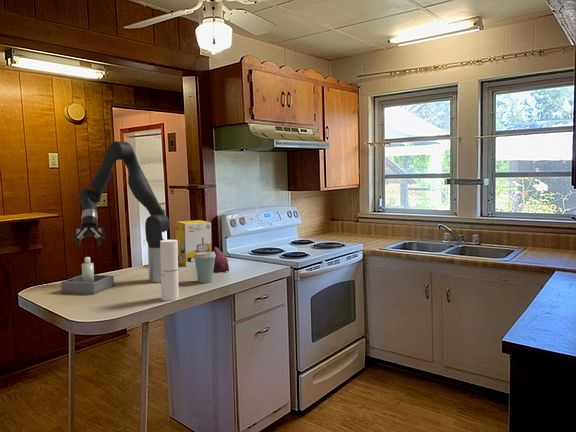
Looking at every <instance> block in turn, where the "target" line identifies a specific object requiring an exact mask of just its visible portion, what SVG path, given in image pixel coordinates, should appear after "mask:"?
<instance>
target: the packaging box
mask: <svg viewBox="0 0 576 432" xmlns="http://www.w3.org/2000/svg"><path fill="white" fill-rule="evenodd" d="M174 223H175V240H177V241H178V265H181V266H184V267H186V268H187V267H194V266H195V267H196V264H195V257H194V255H195V254H196V253H200V252H213V251H212V250H213V249H212V221H205V220H199V219H198V220H197V219H195V220H182V221H181V220H179V221H175V222H174Z"/></svg>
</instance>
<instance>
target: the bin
mask: <svg viewBox="0 0 576 432" xmlns="http://www.w3.org/2000/svg"><path fill="white" fill-rule="evenodd" d="M60 283H61V285H60V286H61V294H75V295H76V294H78V295H79V294H80V295H96V294H99V293H101V292H103V291H105V290H108V289H110V288H112V287H114V286H115V278H114V275H109V274H107V275H106V274H94V282H93V283H88V282H82V274H80V275H77V276H75V277H72V278H69V279H66V280H64V281H61V282H60Z"/></svg>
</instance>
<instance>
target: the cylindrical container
mask: <svg viewBox="0 0 576 432" xmlns="http://www.w3.org/2000/svg"><path fill="white" fill-rule="evenodd" d="M160 255H161V282H160V284H161V285H160V286H161V287H160V288H161V289H160V290H161V301H167V302H169V301H176V300H178V299H179V297H180V296H179V294H180V293H179V292H180V291H179V263H178V241H177V240H176V239H164V240H162V241H160Z"/></svg>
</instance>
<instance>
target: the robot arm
mask: <svg viewBox="0 0 576 432" xmlns="http://www.w3.org/2000/svg"><path fill="white" fill-rule="evenodd" d="M117 161H123V163H124V166H125V167H126V170H127V172H128V173H127V174H128V175H127V176H128V177H127V184H128V188H129V189H130V191H131V193H132V195H133V197H134V198H135V200H137V201H138V202H139V203H140V204H141V205H142V206H143V207H144V208H145V209H146V210H147V211H148V213H149V216H148V217H147V218H146V219H145V222H144V224H145V227H144V229H145V240H146V243H147V256H148V257H147V259H148V260H147V261H148V263H147V265H148V281H149V282H150V283H161V255H160V241H162V240H165V239H164V238H163V233H165V232H167V231H168V230H169V229H170V226H171V223H170V219H169V217H168V216H167V214H166V213H165V211H164V210H163V207H161V205H160V203H159V201H158V199H157V197H156V195H155V193H154V191H153V190H152V187H151V186H150V183H149V181H148V179H147V177H146V176H145V173H144V172H143V170H142V168H141V165H140V163H139V161H138V157H137V155H136V152H135V150H134V148H133V146H132V144H131V143H129V142H127V141H118V140H117V141H112V142H111V143H110V144H109V145H108V148H107V149H106V151H105V154H104V157H103V159H102V162H101V163H100V166H99V168H98V170H97V172H96V173H95V175H93V178H92V179H91V181H90V188H88V187H83V188H81V189H80V191H79V193H78V197H79V202H80V205H81V206H82V207H81V209H82V212H81V213H82V214H81V219H80V220H81V223H80V228H77V227H74V228H73V232H72V239H73V241H76V246H77V247H79V248H80V247H81V240H82V239H84V238H85V237H86V238H88V237H89V238H92V237H94V238H95V239H96V240H97V243H96V245H97V247H100V246H101V244H102V242H101V241H102V240H105V239H106V238H105V236H106V235H105V234H106V233H105V227H104V226H102V227H98V225H99V224H98V219H99V218H98V205H97V204H99V203H100V201H101V199H102V195H103V191H104V189H105V188H106V186H107V184H108V183H109V182H110V179H111V175H112V168H113V166H114V165H115V163H116V162H117ZM79 232H80V233H79ZM98 232H99V233H101V235H100V234H99V233H98ZM78 234H79V235H78Z"/></svg>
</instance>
